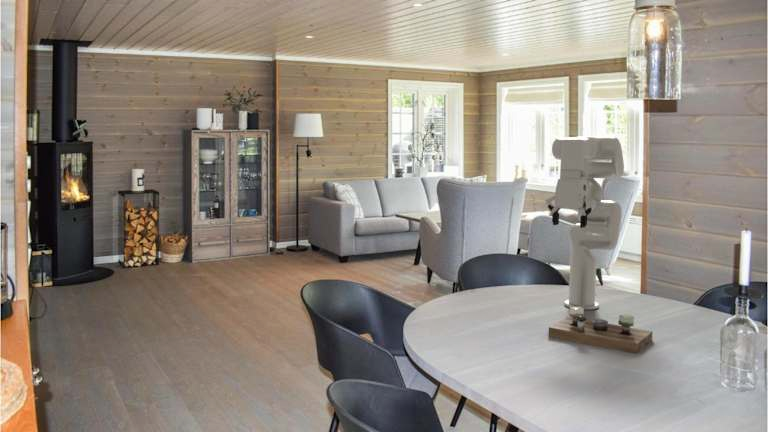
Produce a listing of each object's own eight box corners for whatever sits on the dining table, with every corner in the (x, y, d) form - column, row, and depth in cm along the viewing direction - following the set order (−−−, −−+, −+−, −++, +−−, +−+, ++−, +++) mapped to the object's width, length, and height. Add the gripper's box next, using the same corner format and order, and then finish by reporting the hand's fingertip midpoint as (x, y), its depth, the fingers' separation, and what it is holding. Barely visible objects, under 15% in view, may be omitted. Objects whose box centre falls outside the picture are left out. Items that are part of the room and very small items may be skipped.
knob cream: (572, 321, 231) (572, 306, 231) (585, 324, 229) (585, 308, 228) (567, 324, 228) (567, 308, 227) (580, 327, 225) (580, 311, 224)
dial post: (577, 329, 223) (578, 314, 222) (587, 331, 221) (588, 316, 220) (573, 332, 220) (574, 316, 220) (583, 333, 218) (584, 318, 218)
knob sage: (620, 330, 222) (621, 314, 221) (634, 332, 219) (635, 316, 219) (616, 333, 218) (617, 317, 218) (630, 336, 216) (631, 319, 215)
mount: (567, 325, 238) (567, 316, 238) (652, 340, 222) (652, 331, 222) (548, 336, 226) (548, 327, 225) (636, 353, 209) (637, 343, 209)
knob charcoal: (595, 334, 227) (596, 318, 226) (609, 336, 224) (609, 320, 224) (590, 337, 223) (591, 321, 223) (604, 340, 221) (605, 323, 220)
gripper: (601, 176, 232) (598, 227, 234) (552, 174, 243) (550, 223, 244) (592, 176, 226) (589, 229, 228) (542, 174, 237) (540, 224, 239)
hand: (569, 226), depth 236 cm, fingers open, 9 cm apart
